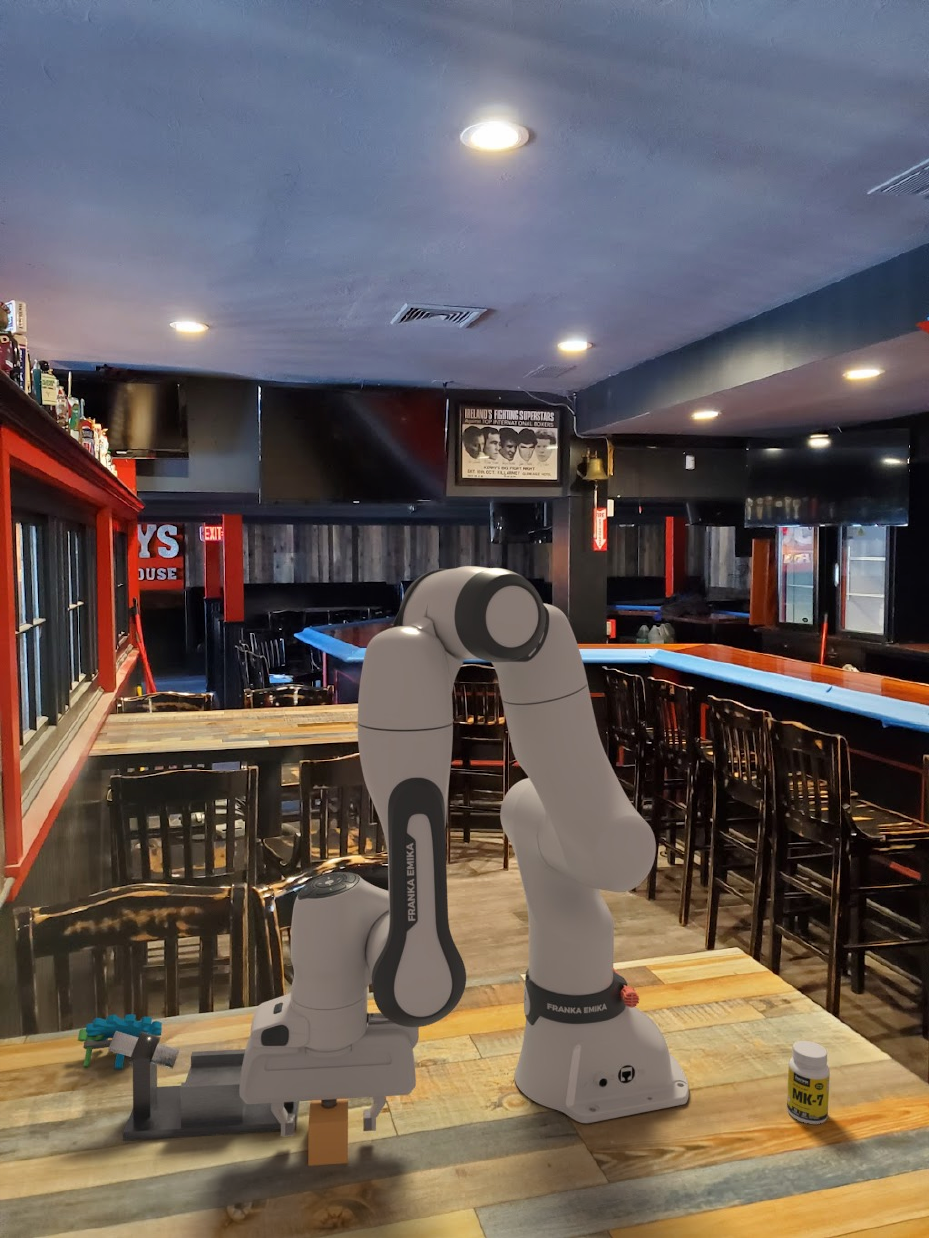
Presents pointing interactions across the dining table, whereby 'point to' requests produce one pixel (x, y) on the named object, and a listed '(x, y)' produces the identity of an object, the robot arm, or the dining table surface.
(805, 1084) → the supplement bottle
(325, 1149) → the block
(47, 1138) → the dining table surface
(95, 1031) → the gear
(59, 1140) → the dining table surface
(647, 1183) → the dining table surface
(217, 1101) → the shaft stand
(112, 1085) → the dining table surface
